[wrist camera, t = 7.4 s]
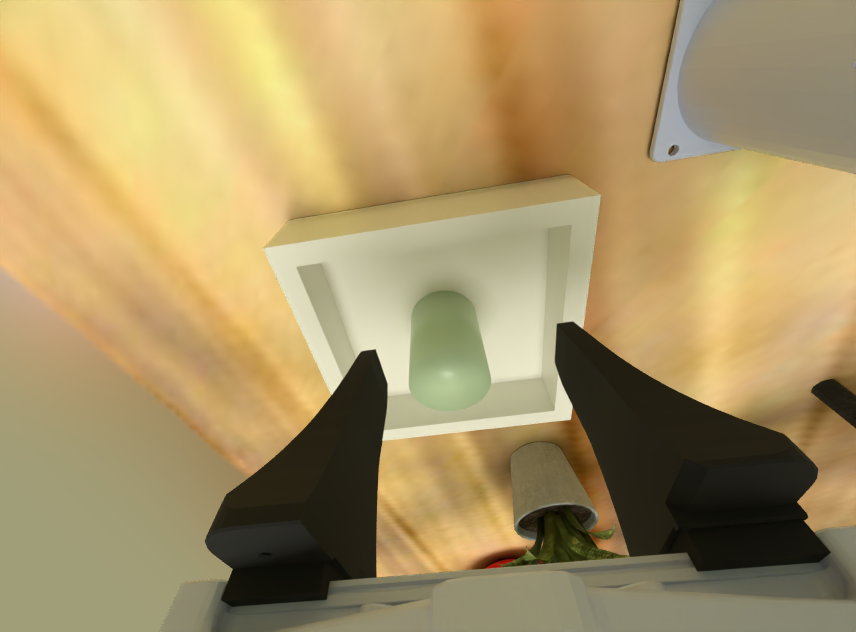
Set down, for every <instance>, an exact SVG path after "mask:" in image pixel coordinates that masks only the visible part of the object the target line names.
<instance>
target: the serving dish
mask: <svg viewBox="0 0 856 632" xmlns="http://www.w3.org/2000/svg"><path fill="white" fill-rule="evenodd" d="M600 200H601V194H599V193H598V192H596V191H595V190H593V189H591V188H590V187H588V186H587V185H585V184H584V183H582V182H581V181H579V180H578V179H576V178H575V177H573V176H571V175H570V174H567V175H561V176H555V177H549V178H543V179H536V180H530V181H524V182H518V183H512V184H506V185H500V186H494V187H488V188H481V189H475V190H469V191H463V192H457V193H451V194H445V195H439V196H433V197H427V198H420V199H414V200H408V201H402V202H396V203H390V204H384V205H378V206H372V207H365V208H359V209H353V210H347V211H341V212H335V213H329V214H323V215H317V216H311V217H304V218H298V219H292V220H288V222H287V223H286V224H285V225H284V226H283V227H282V228H281V229H280V230H279V231H278V232H277V234H276V235H275V236H274V237H273V238H272V239H271V240H270V241H269V242H268V243H267V244H266V246H265V247H264V248H263V250H264V252H265V254H266V256H267V258H268V260H269V263H270V265H271V267H272V269H273V271H274V273H275V275H276V278H277V280H278V282H279V284H280V286H281V288H282V290H283V293H284V295H285V297H286V299H287V301H288V303H289V305H290V307H291V310H292V312H293V314H294V316H295V318H296V320H297V322H298V325H299V327H300V329H301V331H302V333H303V335H304V337H305V340H306V342H307V344H308V346H309V348H310V350H311V352H312V355H313V357H314V359H315V361H316V363H317V365H318V367H319V369H320V372H321V374H322V376H323V378H324V380H325V382H326V384H327V387H328V389H329V391H330V393H331V395H332V394H333V393H334V391H335V390H336V388H337V387H338V386H339V384H340V383H341V381H342V380H343V378H344V377H345V375H346V374H347V372H348V371H349V369H350V367H351V366H352V364H353V363H354V361H355V360H356V358H357V356H358V355H359V353H360V352H361V351H366V350H373V349H376V352H377V354H378V357H379V360H380V363H381V366H382V369H383V372H384V375H385V378H386V381H387V383H388V400H387V413H386V420H385V426H384V433H383V439H382V441H385V440H394V439H403V438H411V437H420V436H429V435H438V434H447V433H456V432H465V431H474V430H483V429H492V428H501V427H510V426H518V425H527V424H536V423H545V422H554V421H563V420H571V414H572V404H571V402H570V400H569V398H568V396H567V394H566V392H565V389H564V387H563V385H562V383H561V380H560V377H559V374H558V371H557V368H556V365H555V345H556V328H557V323H564V322H572V321H573V322H575V323H576V324H577V325H578V326H580V327H581V328H582V329H583V325H584V318H585V311H586V303H587V296H588V288H589V281H590V274H591V266H592V259H593V252H594V244H595V237H596V229H597V222H598V215H599V207H600ZM437 291H453V292H457V293H459V294H461V295H463V296H465V297H466V298H468V299H469V300H470V301H471V303H472V304H473V306H474V308H475V311H476V315H477V319H478V324H479V328H480V332H481V336H482V341H483V345H484V349H485V353H486V358H487V362H488V366H489V371H490V375H491V386H490V389H489V391H488V393H487V394H486V395H485V397H484V398H483V399H482V400H480V401H479V402H478V403H476V404H474V405H473V406H470V407H468V408H465V409H462V410H456V411H439V410H434V409H431V408H428V407H426V406H424V405H422V404H420V403H419V402H418V401H417V400H416V399H415V398H414V397H413V396H412V394H411V392H410V390H409V360H410V336H411V315H412V311H413V309H414V307H415V305H416V304H417V302H418V301H419V300H420V299H422V298H423V297H425V296H426V295H428V294H430V293H433V292H437Z"/></svg>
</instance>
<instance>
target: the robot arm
mask: <svg viewBox="0 0 856 632" xmlns="http://www.w3.org/2000/svg"><path fill="white" fill-rule="evenodd" d="M673 145H674V150H673V151H672V152H671V153H670V154H668V150H669V148H670V147H671V146H673ZM739 149H745V150H750V151H754V152H759V153H763V154H768V155H772V156H777V157H781V158H786V159H790V160H795V161H799V162H804V163H808V164H813V165H817V166H822V167H826V168H831V169H835V170H840V171H844V172H849V173H853V174H856V0H680V4H679V9H678V14H677V19H676V24H675V29H674V34H673V39H672V44H671V49H670V54H669V59H668V64H667V69H666V74H665V79H664V84H663V89H662V94H661V98H660V103H659V108H658V113H657V118H656V123H655V128H654V133H653V138H652V143H651V148H650V158H651V160H653V161H655V162H665V161H671V160H677V159H683V158H690V157H696V156H702V155H708V154H714V153H720V152H726V151H733V150H739ZM555 365H556V368H557V371H558V374H559V377H560V380H561V383H562V385H563V387H564V389H565V392H566V394H567V396H568V398H569V400H570V402H571V404H572V406H573V408H574V410H575V412H576V414H577V416H578V418H579V420H580V422H581V424H582V426H583V428H584V430H585V432H586V434H587V436H588V438H589V440H590V442H591V445H592V447H593V450H594V452H595V455H596V458H597V460H598V463H599V466H600V468H601V471H602V474H603V477H604V479H605V482H606V485H607V488H608V490H609V493H610V496H611V499H612V502H613V505H614V508H615V511H616V514H617V517H618V520H619V523H620V526H621V529H622V532H623V536H624V539H625V542H626V545H627V549H628V552H629V555H630V557H626V558H613V559H601V560H588V561H576V562H564V563H551V564H539V565H526V566H514V567H501V568H489V569H477V570H464V571H452V572H439V573H427V574H415V575H402V576H390V577H377V578H376V523H377V490H378V470H379V460H380V453H381V446H382V439H383V433H384V426H385V420H386V413H387V400H388V383H387V381H386V378H385V375H384V372H383V369H382V366H381V363H380V360H379V357H378V354H377V352H376V349H373V350H366V351H361V352H360V353H359V355H358V356H357V358H356V360H355V361H354V363H353V364H352V366H351V367H350V369H349V371H348V372H347V374H346V375H345V377H344V378H343V380H342V381H341V383H340V384H339V386H338V387H337V388H336V390H335V391H334V393H333V394H332V395H331V397H330V398H329V399H328V401H327V402H326V403H325V405H324V406H323V407H322V409H321V410H320V411H319V412H318V413H317V415H316V416H315V417H314V418H313V419H312V421H311V422H310V423H309V424H308V425H307V426H306V427H305V428H304V429H303V430H302V431H301V432H300V433H299V434H298V435H297V436H296V437H295V438H294V439H293V440H292V441H291V442H290V443H289V444H288V445H287V446H286V447H285V448H284V449H283V450H282V451H281V452H280V453H279V454H277V455H276V456H275V457H274V458H273V459H272V460H271V461H269V462H268V463H267V464H266V465H265V466H263V467H262V468H261V469H260V470H258V471H257V472H256V473H255V474H253V475H252V476H251V477H249V478H248V479H247V480H245V481H244V482H243V483H241V484H240V485H239V486H237V487H236V488H235V489H233V490H232V491H231V492H229V493H228V494H226V496H225V498H224V500H223V502H222V504H221V506H220V508H219V510H218V513H217V515H216V517H215V519H214V521H213V523H212V526H211V528H210V530H209V532H208V534H207V536H206V539H205V543H206V545H207V548H208V549H209V550H210V551H211V553H213V554H214V555H215V556H216V557H218V558H219V559H220V560H222V561H223V562H224V563H226V564H227V565H228V566H230V567H231V568H232V569H233V570H232V573H231V575H230V578H229V581H226V580H221V579H210V580H198V581H186V582H184V583H182V584H181V586H180V588H179V590H178V592H177V594H176V596H175V599H174V601H173V603H172V605H171V607H170V609H169V611H168V613H167V616H166V618H165V620H164V622H163V624H162V626H161V629H160V630H159V632H856V525H855V526H843V527H832V528H826V529H822V530H819V531H816V532H815V533H814V532H813V531H812V530H811V529H810V527H809V526H808V525H807V524H806V523H805V522H804V520H806V519H807V518H808V515H807V513H806V512H805V511H804V510H803V509H802V507H801V506H800V505H799V504H798V503H797V501H798V500H799V499H800V498H801V497H802V496H803V495H804V494H805V492H806V491H807V490H808V489H809V488H810V487H811V486H812V485H813V483H814V482H815V480H816V479H817V475H818V468H817V467H816V465H815V464H814V463H813V462H812V461H811V460H810V459H809V458H808V457H807V456H806V455H805V454H804V453H803V452H802V451H801V450H800V449H799V448H798V447H797V446H796V445H795V444H794V443H793V442H792V441H791V440H790V439H789V438H788V437H787V436H785V435H784V434H782V433H779V432H776V431H773V430H771V429H768V428H765V427H762V426H759V425H756V424H753V423H750V422H748V421H745V420H742V419H739V418H737V417H734V416H732V415H729V414H727V413H724V412H722V411H719V410H717V409H714V408H712V407H710V406H708V405H705V404H703V403H701V402H698V401H696V400H694V399H692V398H690V397H688V396H686V395H684V394H682V393H680V392H678V391H676V390H674V389H672V388H670V387H668V386H666V385H664V384H662V383H661V382H659V381H657V380H655V379H653V378H652V377H650V376H648V375H647V374H645V373H643V372H642V371H640V370H638V369H637V368H635V367H634V366H632V365H631V364H629V363H628V362H626V361H625V360H623V359H622V358H620V357H619V356H617V355H616V354H615V353H613V352H612V351H611V350H609V349H608V348H606V347H605V346H604V345H602V344H601V343H600V342H599V341H597V340H596V339H595V338H593V337H592V336H591V335H590V334H588V333H587V332H586V331H585V330H583V329H582V328H581V327H580V326H578V325H577V324H576V323H575V322H573V321H572V322H564V323H557V328H556V345H555Z"/></svg>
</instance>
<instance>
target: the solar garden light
mask: <svg viewBox="0 0 856 632" xmlns="http://www.w3.org/2000/svg"><path fill="white" fill-rule="evenodd" d="M812 393H813V394H814V395H815V396H816V397H818V398H819V399H820V400H821V401H823V402H824V403H825V404H826V405H828V406H829V407H830V408H831V409H833V410H834V411H835V412H836V413H838V414H839V415H840V416H841V417H843V418H844V419H845V420H846V421H848V422H849V423H850V424H851V425H852V426H854V427H855V428H856V395H855V394H853V393H852V392H851V391H849V390H848V389H847V388H845V387H844V386H842V385H841V384H840V383H838V382H837V381H835V380H832V379H831V380H827V381H822V382H821V383H819V384H818V385H816V386H814V387H813V390H812Z"/></svg>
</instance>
